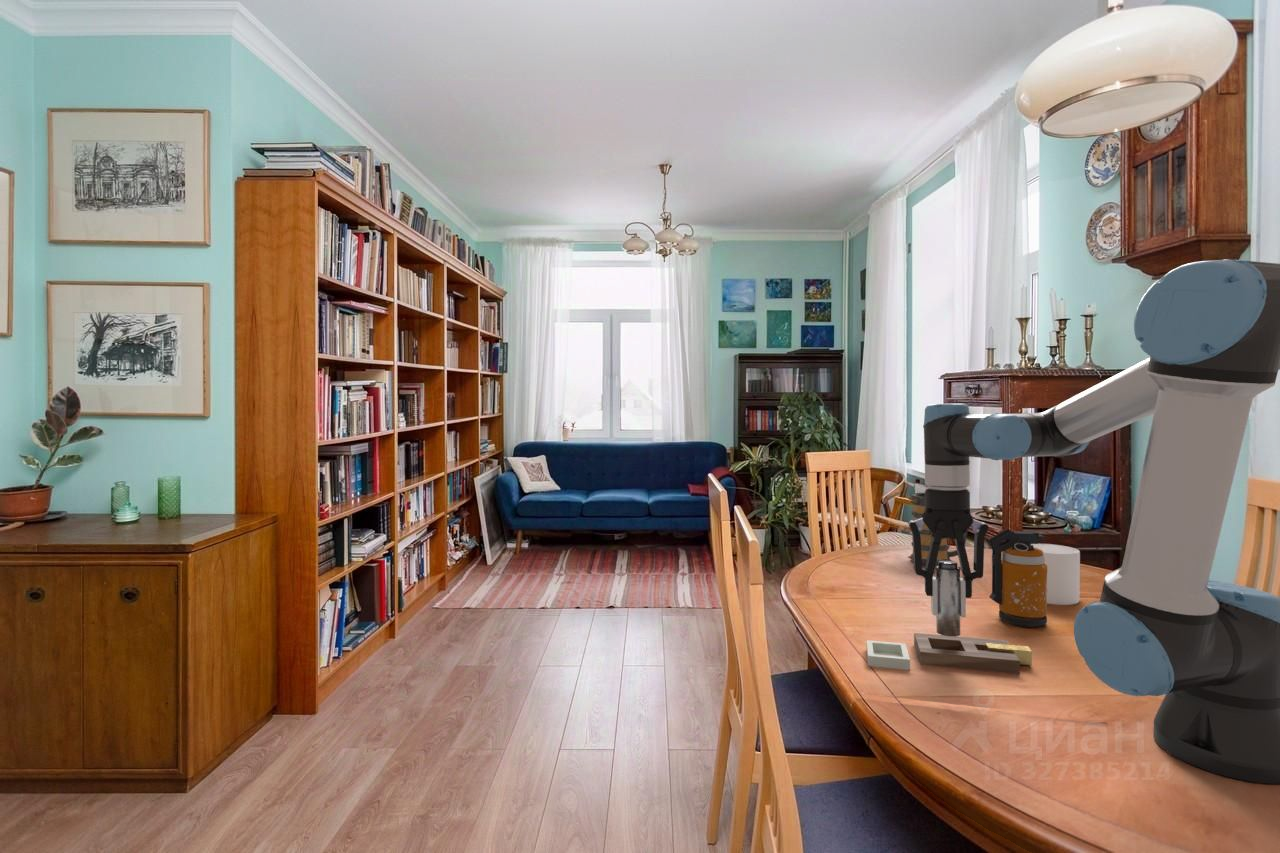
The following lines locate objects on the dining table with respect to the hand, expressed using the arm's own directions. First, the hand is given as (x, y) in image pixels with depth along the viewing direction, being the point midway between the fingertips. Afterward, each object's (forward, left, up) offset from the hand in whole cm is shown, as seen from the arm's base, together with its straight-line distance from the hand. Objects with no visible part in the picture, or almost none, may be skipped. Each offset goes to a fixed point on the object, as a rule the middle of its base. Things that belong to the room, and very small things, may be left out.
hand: (948, 613), depth 122 cm
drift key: (0, -10, -9) cm, 13 cm away
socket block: (0, -3, -9) cm, 9 cm away
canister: (+27, -18, -9) cm, 34 cm away
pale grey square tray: (-4, +11, -9) cm, 14 cm away
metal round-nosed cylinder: (0, 0, -4) cm, 4 cm away
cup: (+48, -30, -9) cm, 58 cm away
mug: (+78, -9, -9) cm, 79 cm away
